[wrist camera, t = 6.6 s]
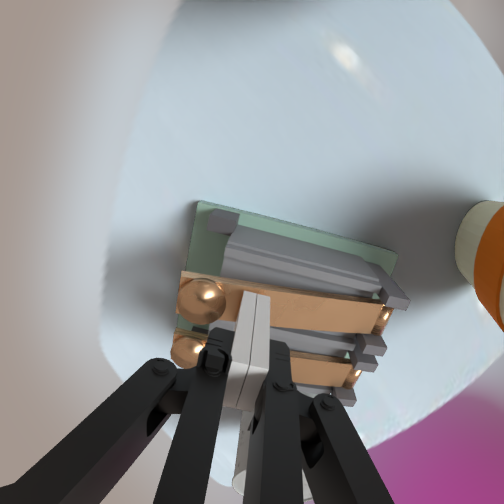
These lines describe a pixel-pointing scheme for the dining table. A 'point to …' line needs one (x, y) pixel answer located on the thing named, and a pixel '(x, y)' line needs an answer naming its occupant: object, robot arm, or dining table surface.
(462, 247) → the reusable coffee cup
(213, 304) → the strap
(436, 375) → the dining table surface
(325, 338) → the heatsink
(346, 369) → the strap
